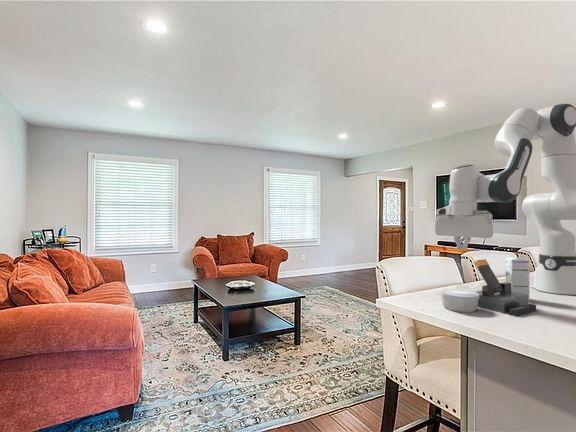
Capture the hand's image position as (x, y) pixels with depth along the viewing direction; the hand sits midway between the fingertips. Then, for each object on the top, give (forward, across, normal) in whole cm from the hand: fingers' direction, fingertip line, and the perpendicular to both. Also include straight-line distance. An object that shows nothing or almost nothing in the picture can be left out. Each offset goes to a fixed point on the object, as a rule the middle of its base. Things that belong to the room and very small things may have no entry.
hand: (462, 249), depth 124 cm
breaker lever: (+12, -12, 0) cm, 17 cm away
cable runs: (+17, -11, +1) cm, 21 cm away
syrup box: (+17, -10, -17) cm, 26 cm away
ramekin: (+18, -8, +13) cm, 24 cm away
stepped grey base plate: (+17, -12, 0) cm, 21 cm away
